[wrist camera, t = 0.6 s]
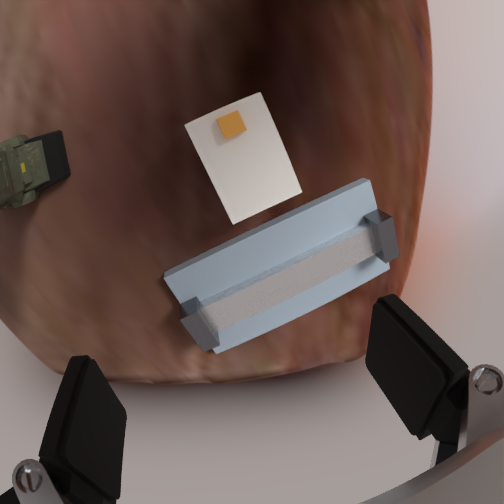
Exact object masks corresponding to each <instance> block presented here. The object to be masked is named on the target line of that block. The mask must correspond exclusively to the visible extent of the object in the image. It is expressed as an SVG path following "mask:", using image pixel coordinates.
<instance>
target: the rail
mask: <svg viewBox="0 0 504 504" xmlns="http://www.w3.org/2000/svg"><path fill="white" fill-rule="evenodd" d="M363 218H364V221H365V222H363V223H361V224H359V225H357V226H355V227H353V228H351V229H349V230H347V231H345V232H343V233H341V234H339V235H337V236H335V237H333V238H331V239H329V240H327V241H325V242H323V243H321V244H319V245H317V246H315V247H313V248H311V249H309V250H307V251H305V252H303V253H301V254H299V255H297V256H295V257H292V258H290V259H288V260H286V261H284V262H282V263H280V264H278V265H276V266H274V267H272V268H270V269H268V270H266V271H263V272H261V273H259V274H257V275H255V276H253V277H251V278H249V279H247V280H245V281H242V282H240V283H238V284H236V285H234V286H232V287H230V288H228V289H225V290H223V291H221V292H219V293H217V294H215V295H213V296H210V297H208V298H206V299H204V300H202V301H199V299H198V298H197V296H196V297H194V298H191V299H189V300H187V301H185V302H183V303H181V304H180V321H181V322H182V324H183V325H184V327H185V328H186V329H187V331H188V332H189V333H190V335H191V336H192V337H193V339H194V340H195V341H196V343H197V344H198V345H199V347H200V348H201V349H202V351H203V352H206V351H208V350H210V349H213V348H215V347H217V346H220V341H219V334H218V331H219V330H222V329H224V328H226V327H228V326H231V325H233V324H235V323H237V322H240V321H242V320H244V319H246V318H248V317H251V316H253V315H255V314H257V313H259V312H261V311H264V310H266V309H268V308H270V307H272V306H274V305H276V304H278V303H280V302H283V301H285V300H287V299H289V298H291V297H293V296H295V295H297V294H299V293H301V292H303V291H305V290H307V289H309V288H311V287H313V286H315V285H317V284H319V283H321V282H323V281H325V280H327V279H329V278H331V277H333V276H335V275H337V274H339V273H341V272H343V271H344V270H346V269H348V268H350V267H352V266H354V265H356V264H358V263H360V262H362V261H363V260H365V259H367V258H369V257H371V256H373V255H375V256H377V257H378V258H379V259H380V260H382V261H383V262H384V263H385V264H386V263H388V262H390V261H391V260H393V259H395V258H397V257H398V256H399V250H398V244H397V238H396V233H395V228H394V223H393V218H392V216H390V215H388V214H386V213H384V212H382V211H381V210H379V209H376V210H374V211H372V212H370V213H368V214H366V215H364V216H363Z"/></svg>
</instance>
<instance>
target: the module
mask: <svg viewBox="0 0 504 504" xmlns="http://www.w3.org/2000/svg"><path fill="white" fill-rule="evenodd" d="M184 126H185V128H186V130H187V132H188V134H189V136H190V138H191V140H192V142H193V144H194V146H195V148H196V150H197V152H198V154H199V156H200V158H201V161H202V163H203V165H204V167H205V169H206V171H207V173H208V175H209V177H210V179H211V181H212V183H213V185H214V187H215V189H216V191H217V193H218V195H219V197H220V199H221V201H222V203H223V205H224V207H225V210H226V212H227V214H228V216H229V218H230V220H231V222H232V224H233V225H234V224H236V223H238V222H240V221H242V220H244V219H246V218H248V217H250V216H253V215H255V214H257V213H259V212H261V211H263V210H265V209H267V208H270V207H272V206H274V205H276V204H278V203H280V202H282V201H285V200H287V199H289V198H291V197H293V196H295V195H298V194H300V193H302V190H301V188H300V185H299V183H298V180H297V177H296V175H295V172H294V170H293V167H292V165H291V162H290V160H289V157H288V155H287V152H286V150H285V148H284V145H283V143H282V140H281V138H280V136H279V133H278V131H277V129H276V126H275V124H274V122H273V119H272V117H271V115H270V112H269V110H268V108H267V106H266V103H265V101H264V99H263V97H262V94H261V92H259V93H256V94H253V95H251V96H248V97H246V98H243V99H241V100H238V101H236V102H234V103H231V104H229V105H227V106H224V107H222V108H220V109H217V110H215V111H213V112H211V113H208V114H206V115H204V116H202V117H200V118H198V119H195V120H193V121H191V122H189V123H187V124H185V125H184Z"/></svg>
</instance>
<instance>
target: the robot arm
mask: <svg viewBox="0 0 504 504" xmlns="http://www.w3.org/2000/svg"><path fill="white" fill-rule="evenodd" d="M365 363H366V367H367V368H368V370H369V372H370V373H371V375H372V376H373V378H374V379H375V380H376V382H377V384H378V385H379V387H380V388H381V390H382V391H383V392H384V394H385V395H386V397H387V399H388V400H389V402H390V403H391V404H392V406H393V408H394V409H395V410H396V412H397V413H398V415H399V417H400V418H401V420H402V421H403V423H404V424H405V426H406V427H407V429H408V430H409V432H410V433H411V434H412V435H416V436H417V437H418V439H419V440H422V439H423V438H425V437H427V436H429V435H430V434H432V435H433V436H434V438H435V445H434V450H433V456H432V461H431V465H430V469H429V470H427V471H426V472H424V473H422V474H420V475H419V476H417V477H415V478H413V479H411V480H409V481H407V482H405V483H403V484H401V485H399V486H398V487H395V488H393V489H391V490H389V491H387V492H385V493H383V494H380V495H378V496H376V497H374V498H371V499H369V500H366V501H364V502H362V503H359V504H504V374H503V373H502V371H501V370H499V369H498V368H497V367H495V366H493V365H488V364H482V365H478V366H476V367H475V368H473V369H472V371H471V372H470V371H469V370H468V365H467V364H466V363H465V362H464V361H463V360H462V359H461V358H460V357H459V356H458V355H457V354H456V353H455V352H454V351H453V350H452V349H451V348H450V347H449V346H448V345H447V344H446V343H445V342H444V341H443V340H442V339H441V338H440V337H439V336H438V335H437V334H436V333H435V332H434V331H433V330H432V329H431V328H430V327H429V326H428V325H427V324H426V323H425V322H424V321H423V320H422V319H421V318H420V317H419V316H418V315H417V314H416V313H414V311H412V310H411V309H410V308H409V307H408V306H407V305H406V304H405V303H404V302H403V301H402V300H401V299H400V298H399V297H397V296H396V295H395V294H390V295H387V296H384V297H380V298H378V299H377V302H376V303H375V304H374V305H373V311H372V319H371V326H370V333H369V340H368V347H367V353H366V359H365ZM126 420H127V415H126V411H125V409H124V407H123V405H122V404H121V402H120V401H119V400H118V398H117V396H116V395H115V393H114V391H113V390H112V388H111V387H110V385H109V383H108V382H107V380H106V378H105V377H104V375H103V373H102V372H101V370H100V368H99V366H98V365H97V363H96V361H95V360H94V359H91V358H90V357H89V356H88V355H83V356H73V357H71V359H70V361H69V363H68V366H67V369H66V371H65V374H64V376H63V379H62V382H61V384H60V387H59V390H58V393H57V396H56V399H55V401H54V405H53V408H52V410H51V414H50V417H49V420H48V423H47V427H46V430H45V433H44V437H43V440H42V444H41V447H40V451H39V457H40V459H39V462H38V461H37V460H34V459H26V460H23V461H21V462H20V463H19V464H18V465H17V466H16V467H15V469H14V471H13V474H12V483H13V487H12V488H11V489H9V490H8V491H6V492H5V493H3V494H2V495H1V496H0V504H116V499H119V498H120V492H121V472H122V460H123V459H122V458H123V448H124V437H125V428H126Z"/></svg>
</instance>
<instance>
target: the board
mask: <svg viewBox="0 0 504 504" xmlns="http://www.w3.org/2000/svg"><path fill="white" fill-rule="evenodd" d="M376 209H377V206H376V202H375V198H374V194H373V190H372V186H371V183H370V180H368V179H365V178H361V179H359V180H357V181H355V182H352V183H350V184H348V185H346V186H344V187H341V188H339V189H337V190H335V191H333V192H330V193H328V194H326V195H324V196H322V197H320V198H317V199H315V200H313V201H311V202H309V203H307V204H304V205H302V206H300V207H298V208H296V209H294V210H292V211H289V212H287V213H285V214H283V215H281V216H279V217H277V218H275V219H272V220H270V221H268V222H266V223H264V224H262V225H260V226H258V227H256V228H254V229H251V230H249V231H247V232H245V233H243V234H241V235H239V236H237V237H235V238H233V239H231V240H229V241H226V242H224V243H222V244H220V245H218V246H216V247H214V248H212V249H210V250H208V251H206V252H204V253H202V254H200V255H198V256H196V257H194V258H192V259H190V260H188V261H185V262H183V263H181V264H179V265H177V266H175V267H173V268H171V269H169V270H167V271H165V273H164V280H165V281H166V283H167V284H168V286H169V287H170V289H171V290H172V292H173V293H174V295H175V296H176V298H177V299H178V301H179V302H180V304H181V303H183V302H185V301H187V300H189V299H191V298H194V297H196V296H197V298H198V299H199V301H202V300H204V299H206V298H208V297H210V296H213V295H215V294H217V293H219V292H221V291H223V290H225V289H228V288H230V287H232V286H234V285H236V284H238V283H240V282H242V281H245V280H247V279H249V278H251V277H253V276H255V275H257V274H259V273H261V272H263V271H266V270H268V269H270V268H272V267H274V266H276V265H278V264H280V263H282V262H284V261H286V260H288V259H290V258H292V257H295V256H297V255H299V254H301V253H303V252H305V251H307V250H309V249H311V248H313V247H315V246H317V245H319V244H321V243H323V242H325V241H327V240H329V239H331V238H333V237H335V236H337V235H339V234H341V233H343V232H345V231H347V230H349V229H351V228H353V227H355V226H357V225H359V224H361V223H363V222H365V221H364V218H363V216H364V215H366V214H368V213H370V212H372V211H374V210H376ZM388 269H390V267H389V262H388V263H386V264H385V263H384V262H383V261H382V260H380V259H379V258H378V257H377V256H375V255H373V256H371V257H369V258H367V259H365V260H363V261H362V262H360V263H358V264H356V265H354V266H352V267H350V268H348V269H346V270H344V271H343V272H341V273H339V274H337V275H335V276H333V277H331V278H329V279H327V280H325V281H323V282H321V283H319V284H317V285H315V286H313V287H311V288H309V289H307V290H305V291H303V292H301V293H299V294H297V295H295V296H293V297H291V298H289V299H287V300H285V301H283V302H280V303H278V304H276V305H274V306H272V307H270V308H268V309H266V310H264V311H261V312H259V313H257V314H255V315H253V316H251V317H248V318H246V319H244V320H242V321H240V322H237V323H235V324H233V325H231V326H228V327H226V328H224V329H222V330H219V331H218V334H219V341H220V346H217V347H215V348H213V350H214V351H215V353H216V354H218V353H220V352H223V351H225V350H227V349H230V348H232V347H234V346H237V345H239V344H241V343H243V342H246V341H248V340H250V339H253V338H255V337H257V336H259V335H261V334H264V333H266V332H268V331H270V330H272V329H274V328H277V327H279V326H281V325H283V324H285V323H287V322H289V321H291V320H293V319H296V318H298V317H300V316H302V315H304V314H306V313H308V312H310V311H312V310H314V309H316V308H318V307H320V306H322V305H324V304H326V303H328V302H330V301H331V300H333V299H335V298H337V297H339V296H341V295H343V294H345V293H347V292H349V291H351V290H352V289H354V288H356V287H358V286H360V285H362V284H363V283H365V282H367V281H369V280H371V279H372V278H374V277H376V276H378V275H380V274H381V273H383V272H385V271H387V270H388Z"/></svg>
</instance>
